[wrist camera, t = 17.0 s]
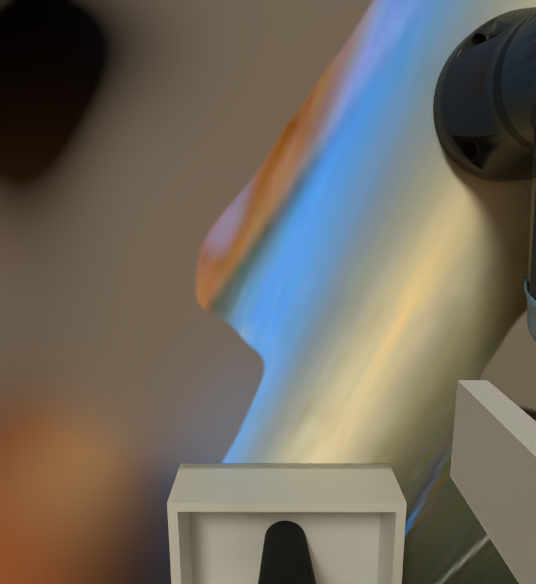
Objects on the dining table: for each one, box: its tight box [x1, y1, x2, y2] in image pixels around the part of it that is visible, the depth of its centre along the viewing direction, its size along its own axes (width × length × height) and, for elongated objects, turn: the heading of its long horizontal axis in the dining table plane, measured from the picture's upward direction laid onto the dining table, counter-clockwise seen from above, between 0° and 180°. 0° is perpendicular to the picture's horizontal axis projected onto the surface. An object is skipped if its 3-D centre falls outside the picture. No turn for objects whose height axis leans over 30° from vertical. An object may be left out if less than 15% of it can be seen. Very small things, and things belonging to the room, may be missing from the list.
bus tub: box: [167, 464, 407, 584], centre depth 51 cm, size 24×18×7 cm
